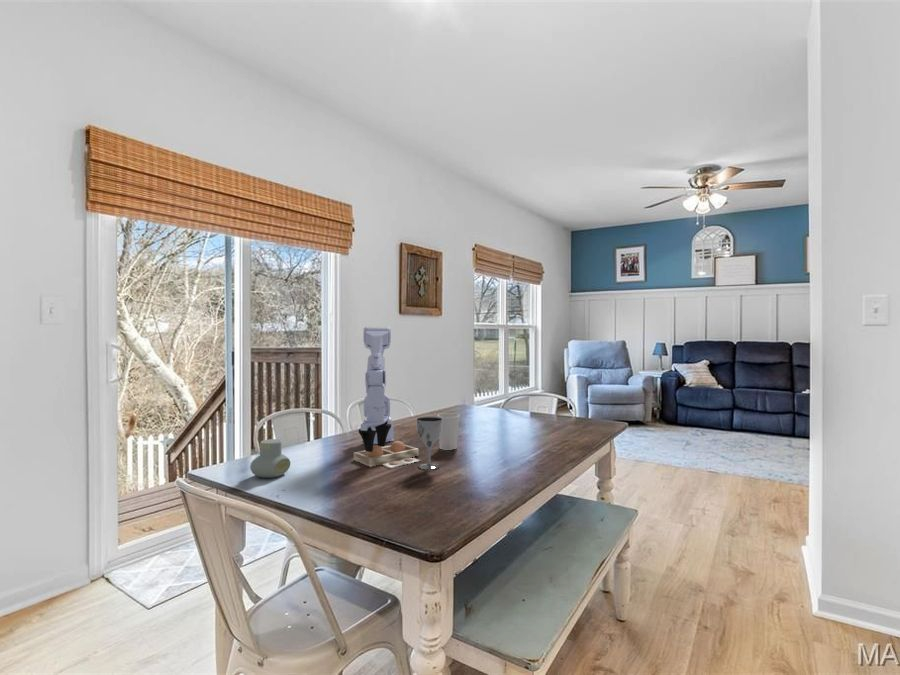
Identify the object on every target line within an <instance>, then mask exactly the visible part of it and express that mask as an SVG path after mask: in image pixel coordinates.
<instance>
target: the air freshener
mask: <svg viewBox="0 0 900 675" xmlns="http://www.w3.org/2000/svg"><path fill="white" fill-rule="evenodd" d="M249 466H250V468H249V469H250V471H251V473H252V474H253V475H254V476H256V477H259V478H261V479H262V478H263V479H275V477H276V478H279V477H281V476H282V475H284V474H285V473H287V472H288V470H289V469H290V468H291V461H290V458H289V457H288V456H287V455H285V454H283V453H282V440H280V439H277V438H275V439H274V438H272V439H271V438H270V439H264V440H260V442H259V456H256V457H255V458H254V459H253V460H251V463H250V465H249Z"/></svg>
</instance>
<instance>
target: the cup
mask: <svg viewBox="0 0 900 675" xmlns="http://www.w3.org/2000/svg"><path fill="white" fill-rule="evenodd" d="M436 417H440V418H442V431H441V435H440V437H439V439H438V442H439V448H440V449H444V450H452V449H456V448H457V449H458V439H459V427H460V426H459V425H460V417H461V416H460V414H457V413H451V412H450V413H447V412H446V413H438V414H437V415H436ZM440 449H439V450H440Z"/></svg>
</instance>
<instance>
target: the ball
mask: <svg viewBox="0 0 900 675" xmlns="http://www.w3.org/2000/svg"><path fill="white" fill-rule="evenodd" d="M390 445H391V447H390V450H391V452H394V453H397V452H401V451H405V445H406V444H405V443H403V441H401V440H394V441H392V443H391V444H390Z"/></svg>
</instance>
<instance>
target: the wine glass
mask: <svg viewBox="0 0 900 675" xmlns="http://www.w3.org/2000/svg"><path fill="white" fill-rule="evenodd" d="M416 431H417V435H418V438H419V439H420V440H421V442H422V443H423V444H424V446H425V447H426V451H427V463H423V464H419V465H420V466H419V465H418V466H419V467H420V468H421V469H435V468H437V467H438V465H439V464H437V465H436V463H431V455H432V449H433V446H434V445H435V444H436V442H437V441H439V437H440V435H441V431H442V418H440V417H437V416H421V417H417V418H416ZM421 469H420V470H421Z"/></svg>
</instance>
